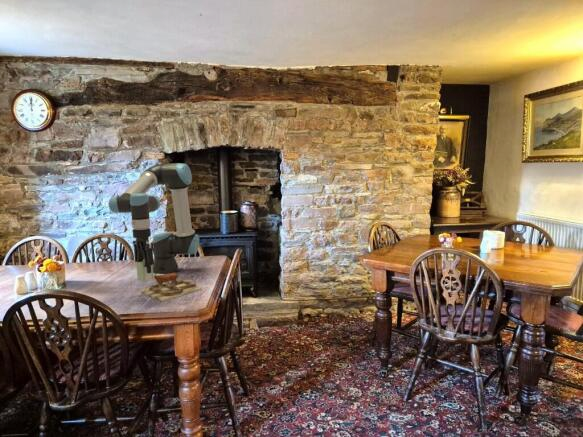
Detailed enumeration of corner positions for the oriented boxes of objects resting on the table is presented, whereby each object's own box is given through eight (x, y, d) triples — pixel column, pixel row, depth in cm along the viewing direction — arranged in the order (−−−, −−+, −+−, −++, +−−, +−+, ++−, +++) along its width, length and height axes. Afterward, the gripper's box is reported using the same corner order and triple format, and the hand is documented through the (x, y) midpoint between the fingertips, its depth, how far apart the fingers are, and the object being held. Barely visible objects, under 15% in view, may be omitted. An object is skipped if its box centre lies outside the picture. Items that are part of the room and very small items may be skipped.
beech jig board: (140, 293, 195) (140, 288, 195) (179, 282, 212) (179, 278, 211) (162, 301, 182) (162, 296, 182) (201, 289, 199) (201, 284, 198)
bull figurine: (150, 288, 194) (149, 272, 193) (178, 285, 199) (177, 269, 197) (150, 291, 190) (149, 274, 189) (179, 287, 195) (178, 271, 193)
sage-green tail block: (137, 279, 178) (136, 262, 177) (148, 277, 182) (146, 260, 181) (143, 281, 175) (141, 264, 174) (153, 279, 179) (152, 261, 178)
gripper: (123, 227, 178) (127, 277, 182) (143, 231, 166) (147, 284, 170) (139, 225, 184) (143, 273, 187) (159, 229, 172) (163, 280, 175)
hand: (145, 278), depth 178 cm, fingers closed on sage-green tail block, 5 cm apart
